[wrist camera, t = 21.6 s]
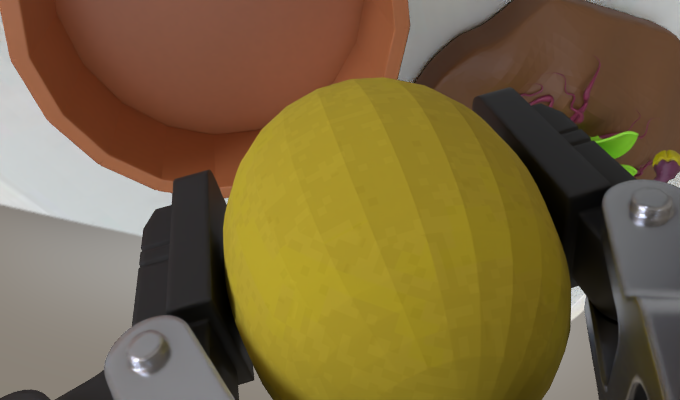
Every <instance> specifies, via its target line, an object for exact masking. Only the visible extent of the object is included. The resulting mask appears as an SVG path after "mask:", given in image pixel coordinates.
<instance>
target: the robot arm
mask: <svg viewBox="0 0 680 400" xmlns="http://www.w3.org/2000/svg"><path fill="white" fill-rule="evenodd" d="M472 111H474V112H475V113H476V114H477V115H479V116H480V117H481V118H482V119H483V120H484V121H486V123H487V124H488V125H489V126H490V127H491V128H492V129H493V130H494V131H495V132H496V133H497V134H498V135H499V136H500V137H501V138H502V139H503V140H504V141H505V142H506V143H507V144H508V145H509V146H510V148H511V149H512V150H513V151H514V152H515V153H516V154H517V155H518V157H519V158H520V159H521V161H522V162H523V163H524V165H525V166H526V167H527V169H528V171H529V172H530V174H531V176H532V177H533V179H534V181H535V183H536V184H537V187H538V189H539V191H540V193H541V195H542V197H543V199H544V201H545V204H546V206H547V209H548V211H549V213H550V216H551V218H552V221H553V223H554V225H555V228H556V230H557V233H558V236H559V238H560V241H561V243H562V246H563V250H564V253H565V257H566V260H567V264H568V269H569V276H570V282H571V288H573V287H576V286H580V288H581V289H582V290H583V292H584V293H585V294H586V300H585V306H584V310H585V317H586V323H587V329H588V335H589V342H590V348H591V353H592V360H593V366H594V371H595V378H596V384H597V390H598V396H599V400H680V188H679V187H676V186H674V185H671V184H668V183H665V182H661V181H656V180H646V179H638V180H637V179H636V178H635V177H633V176H632V175H631V174H630V173H629V172H628V171H627V170H626V169H625V168H624V167H622V166H621V165H620V164H619V163H618V162H617V161H616V160H615V159H614V158H613V157H611V156H610V155H609V154H608V153H607V152H606V151H605V150H604V149H603V148H602V147H600V146H599V145H598V144H597V143H596V142H595V141H594V140H593V141H591V137H589V136H588V135H587V134H586V133H585V132H584V131H583V130H582V129H578V126H577V125H576V124H575V123H574V122H573V121H572V120H571V119H570V118H569V117H567V116H566V115H565V114H564V113H563V112H561V111H558V110H556V109H553V108H551V107H548V106H546V105H544V104H541V103H539V104H536V105H532V106H531V105H530V104H529V103H528V102H527V101H526V100H525V99H524V98H523V97H522V96H521V95H520V94H519V93H518V92H517V91H516V90H514V89H513V88H511V87H508V88H505V89H501V90H497V91H494V92H490V93H486V94H483V95H479V96H476V97H475V98H474V100H473V105H472ZM226 207H227V205H226V202H225V200H224V198H223V195H222V193H221V191H220V188H219V186H218V184H217V181H216V179H215V177H214V175H213V173H212V171H211V170H210V169H209V170H205V171H201V172H198V173H194V174H191V175H187V176H183V177H180V178H176V179H174V181H173V193H172V205H170V206H167V207H163V208H159V209H156V210H155V211H154V213H153V214H152V216H151V218H150V219H149V221H148V222H147V224H146V226H145V227H144V229H143V237H142V245H141V249H142V252H141V254H140V262H139V265H140V268H139V270H138V279H137V287H136V296H135V304H134V312H133V321H132V327H131V328H129V329H128V330H127V331H126V332H125V333H123V334H122V335H121V336H120V337H119V338H118V340H117V341H116V342H115V343H114V345H113V346H112V347H111V349H110V351H109V353H108V355H107V358H106V360H105V366H104V370H103V371H102V372H101V373H99V374H98V375H96V376H95V377H93V378H91V379H90V380H88V381H86V382H85V383H83V384H81V385H79V386H78V387H76V388H74V389H72V390H71V391H69V392H67V393H66V394H64V395H62V396H60V397H59V398H57V399H55V400H239V393H238V385H240V384H243V383H247V382H250V381H253V380H254V372H253V364H252V361H251V359H250V357H249V355H248V352H247V350H246V348H245V346H244V343H243V341H242V338H241V336H240V333H239V331H238V329H237V326H236V323H235V320H234V317H233V314H232V311H231V308H230V304H229V299H228V295H227V290H226V282H225V274H224V246H223V226H224V216H225V212H226ZM0 400H50V399H49V398H48V397H47V396H46V395H45V394H43V393H42V392H39V391H36V390H22V391H17V392H14V393H11V394H8V395H6V396H4V397H2V398H0Z"/></svg>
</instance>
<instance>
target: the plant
mask: <svg viewBox="0 0 680 400" xmlns="http://www.w3.org/2000/svg"><path fill="white" fill-rule="evenodd" d="M415 84H420V85H425V86H427V87H429V88H431V89H434V90H436V91H438V92H440V93H441V94H443V95H445V96H447V97H449V98H451V99H453V100H455V101H457V102H459V103H461V104H463V105H465V106H466V107H468V108H469V109H471V110H472V105H473V100H474V98H475V97H476V96H479V95H483V94H486V93H490V92H494V91H497V90H501V89H505V88H508V87H511V88H513V89H514V90H516V91H517V92H518V93H519V94H520V95H521V96H522V97H523V98H524V99H525V100H526V101H527V102H528V103H529V104H530V105H531V106H532V105H536V104H539V103H541V104H544V105H546V106H548V107H551V108H553V109H556V110H558V111H561V112H563V113H564V114H565V115H566V116H567V117H569V118H570V119H571V120H572V121H573V122H574V123H575V124H576V125H577V126H578V129H582V130H583V131H584V132H585V133H586V134H587V135H588V136H589V137H591V141H593V140H594V141H595V142H596V143H597V144H598V145H599V146H600V147H602V148H603V149H604V150H605V151H606V152H607V153H608V154H609V155H610V156H611V157H613V158H614V159H615V160H616V161H617V162H618V163H619V164H620V165H621V166H622V167H624V168H625V169H626V170H627V171H628V172H629V173H630V174H631V175H632V176H633V177H635V178H636V179H637V180H638V179H646V180H656V181H661V182H665V183H667V182H668V181H669V180H670V179H674V178H675V176H676V174H677V173H679V172H680V40H679V39H678V38H677V37H676V36H675V35H674V34H673V33H672V32H670V31H669V30H667V29H665V28H663V27H661V26H660V25H658V24H656V23H654V22H651V21H649V20H645V19H641V18H637V17H634V16H632V15H629V14H626V13H623V12H620V11H617V10H614V9H610V8H607V7H603V6H599V5H596V4H593V3H589V2H587V1H584V0H513V1H512V2H511V3H509V4H508V5H507V6H506V7H505V8H504V9H503V10H501V11H500V12H499V13H498V14H496V15H495V16H494V17H493V18H491V19H490V20H489V21H487V22H486V23H484V24H483V25H481V26H479V27H477V28H475V29H473V30H470V31H468V32H465V33H463V34H461V35H460V36H458V37H457V38H455V39H454V40H453V41H452V42H450V43H449V44H448V45H447V46H446V47H445V48H444V49H443V50H441V51H440V52H439V53H438V54H437V55H436V56H435V57H434V58H433V59H432V60H431V61H430V63H429V64H428V65H427V66H426V67H425V69H424V70H423V72H422V73H421V75H420V76H419V78H418V79H417V81H416V82H415Z"/></svg>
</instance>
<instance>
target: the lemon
mask: <svg viewBox="0 0 680 400" xmlns="http://www.w3.org/2000/svg"><path fill="white" fill-rule="evenodd" d="M223 246H224V274H225V282H226V290H227V295H228V299H229V304H230V308H231V311H232V314H233V317H234V320H235V323H236V326H237V329H238V331H239V333H240V336H241V338H242V341H243V343H244V346H245V348H246V350H247V352H248V355H249V357H250V359H251V361H252V364H253V366H254V368H255V370H256V372H257V374H258V376H259V378H260V380H261V382H262V384H263V385H264V387H265V389H266V390H267V391H268V393H269V394H270V396H271V397H272V399H273V400H542V398H543V397H544V395H545V394H546V393H547V391H548V390H549V388H550V386H551V384H552V382H553V379H554V377H555V375H556V372H557V370H558V368H559V365H560V362H561V360H562V357H563V355H564V352H565V348H566V345H567V341H568V337H569V333H570V320H571V282H570V276H569V269H568V264H567V260H566V257H565V253H564V250H563V246H562V243H561V241H560V238H559V236H558V233H557V230H556V228H555V225H554V223H553V221H552V218H551V216H550V213H549V211H548V209H547V206H546V204H545V201H544V199H543V197H542V195H541V193H540V191H539V189H538V187H537V184H536V183H535V181H534V179H533V177H532V176H531V174H530V172H529V171H528V169H527V167H526V166H525V165H524V163H523V162H522V161H521V159H520V158H519V157H518V155H517V154H516V153H515V152H514V151H513V150H512V149H511V148H510V146H509V145H508V144H507V143H506V142H505V141H504V140H503V139H502V138H501V137H500V136H499V135H498V134H497V133H496V132H495V131H494V130H493V129H492V128H491V127H490V126H489V125H488V124H487V123H486V121H484V120H483V119H482V118H481V117H480V116H479V115H477V114H476V113H475V112H474V111H472V110H471V109H469V108H468V107H466V106H465V105H463V104H461V103H459V102H457V101H455V100H453V99H451V98H449V97H447V96H445V95H443V94H441V93H440V92H438V91H436V90H434V89H431V88H429V87H427V86H425V85H420V84H415V83H410V82H405V81H400V80H395V79H390V78H384V77H380V78H362V79H349V80H345V81H342V82H339V83H335V84H332V85H329V86H325V87H322V88H319V89H316V90H314V91H313V92H311V93H309V94H307V95H306V96H304V97H302V98H300V99H298V100H297V101H295V102H293V103H291V104H290V105H288V106H286V107H285V108H284V109H283V110H282V111H281V112H280V113H279V114H278V115H277V116H276V117H274V118H273V119H272V120H271V121H270V122H269V123H268V124H267V125H266V126H265V127H264V128H263V129H262V130H261V131H260V133H259V134H258V136H257V137H256V139H255V140H254V142H253V144H252V145H251V147H250V148H249V150H248V151H247V153H246V155H245V156H244V158H243V159H242V161H241V163H240V165H239V167H238V170H237V172H236V176H235V179H234V182H233V186H232V189H231V193H230V196H229V199H228V203H227V207H226V212H225V216H224V226H223Z"/></svg>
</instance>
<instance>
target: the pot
mask: <svg viewBox="0 0 680 400" xmlns="http://www.w3.org/2000/svg"><path fill="white" fill-rule="evenodd" d="M0 11H1V16H2V21H3V26H4V31H5V36H6V41H7V46H8V51H9V56H10V59H11V62H12V63H13V65H14V67H15V68H16V70H17V72H18V73H19V75H20V76H21V78H22V80H23V81H24V83H25V85H26V86H27V88H28V90H29V91H30V93H31V94H32V96H33V98H34V99H35V101H36V103H37V104H38V106H39V107H40V109H41V111H42V112H43V114H44V116H45V117H46V119H47V120H48V121H49V122H50V123H51V124H52V125H53V126H54V127H56V128H57V129H58V130H59V131H60V132H61V133H63V134H64V135H65V136H66V137H67V138H68V139H70V140H71V141H72V142H73V143H74V144H75V145H77V146H78V147H79V148H80V149H81V150H82V151H84V152H85V153H86V154H87V155H88V156H89V157H91V158H92V159H93V160H94V161H95V162H96V163H98V164H100V165H101V166H103V167H105V168H108V169H110V170H112V171H114V172H117V173H119V174H121V175H123V176H125V177H128V178H130V179H132V180H134V181H137V182H139V183H141V184H143V185H145V186H148V187H150V188H152V189H154V190H158V191H163V192H170V193H173V181H174V179H176V178H180V177H183V176H187V175H191V174H194V173H198V172H201V171H205V170H209V169H210V170H211V171H212V173H213V175H214V177H215V179H216V181H217V184H218V186H219V188H220V191H221V193H222V195H223V198H229V196H230V193H231V189H232V186H233V182H234V179H235V176H236V172H237V170H238V167H239V165H240V163H241V161H242V159H243V158H244V156H245V155H246V153H247V151H248V150H249V148H250V147H251V145H252V144H253V142H254V140H255V139H256V137H257V136H258V134H259V133H260V131H261V130H262V129H263V128H264V127H265V126H266V125H267V124H268V123H269V122H270V121H271V120H272V119H273V118H274V117H276V116H277V115H278V114H279V113H280V112H281V111H282V110H283V109H284V108H285V107H286V106H288V105H290V104H291V103H293V102H295V101H297V100H298V99H300V98H302V97H304V96H306V95H307V94H309V93H311V92H313V91H314V90H316V89H319V88H322V87H325V86H329V85H332V84H335V83H339V82H342V81H345V80H349V79H362V78H380V77H384V78H390V79H395V80H397V78H398V74H399V70H400V66H401V62H402V58H403V54H404V50H405V46H406V42H407V38H408V34H409V30H410V18H409V8H408V0H0Z"/></svg>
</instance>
